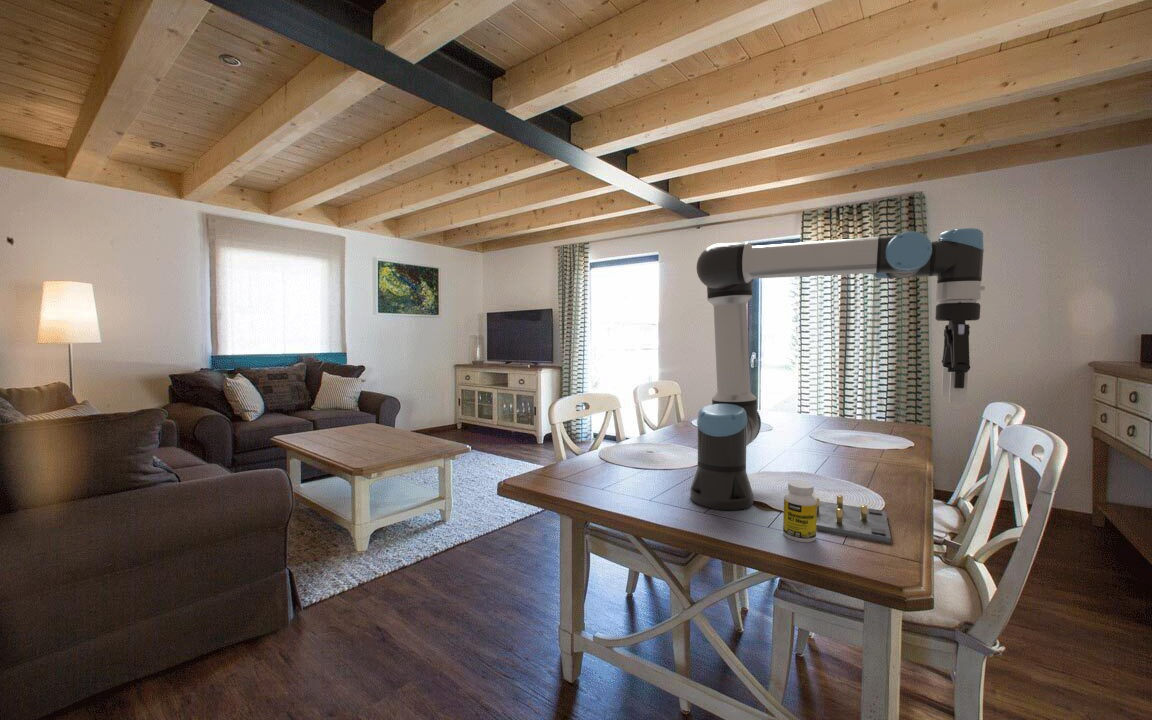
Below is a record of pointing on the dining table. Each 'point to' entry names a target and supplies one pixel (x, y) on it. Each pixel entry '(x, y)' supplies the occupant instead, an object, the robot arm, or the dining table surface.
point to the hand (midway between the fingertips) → (953, 399)
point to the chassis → (852, 521)
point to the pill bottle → (800, 512)
